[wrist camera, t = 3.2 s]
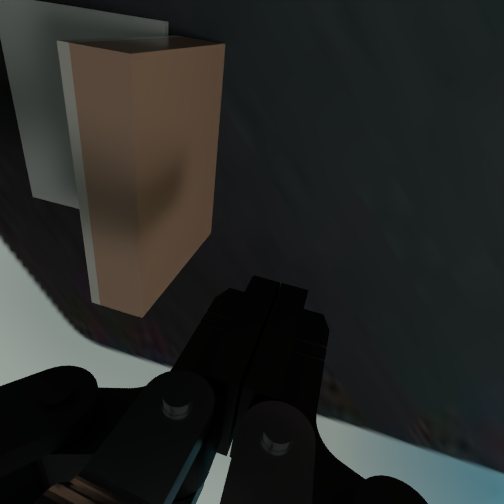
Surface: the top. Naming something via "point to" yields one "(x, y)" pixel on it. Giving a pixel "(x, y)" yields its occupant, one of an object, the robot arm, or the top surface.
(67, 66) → the tile
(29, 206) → the top surface
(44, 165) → the mat
